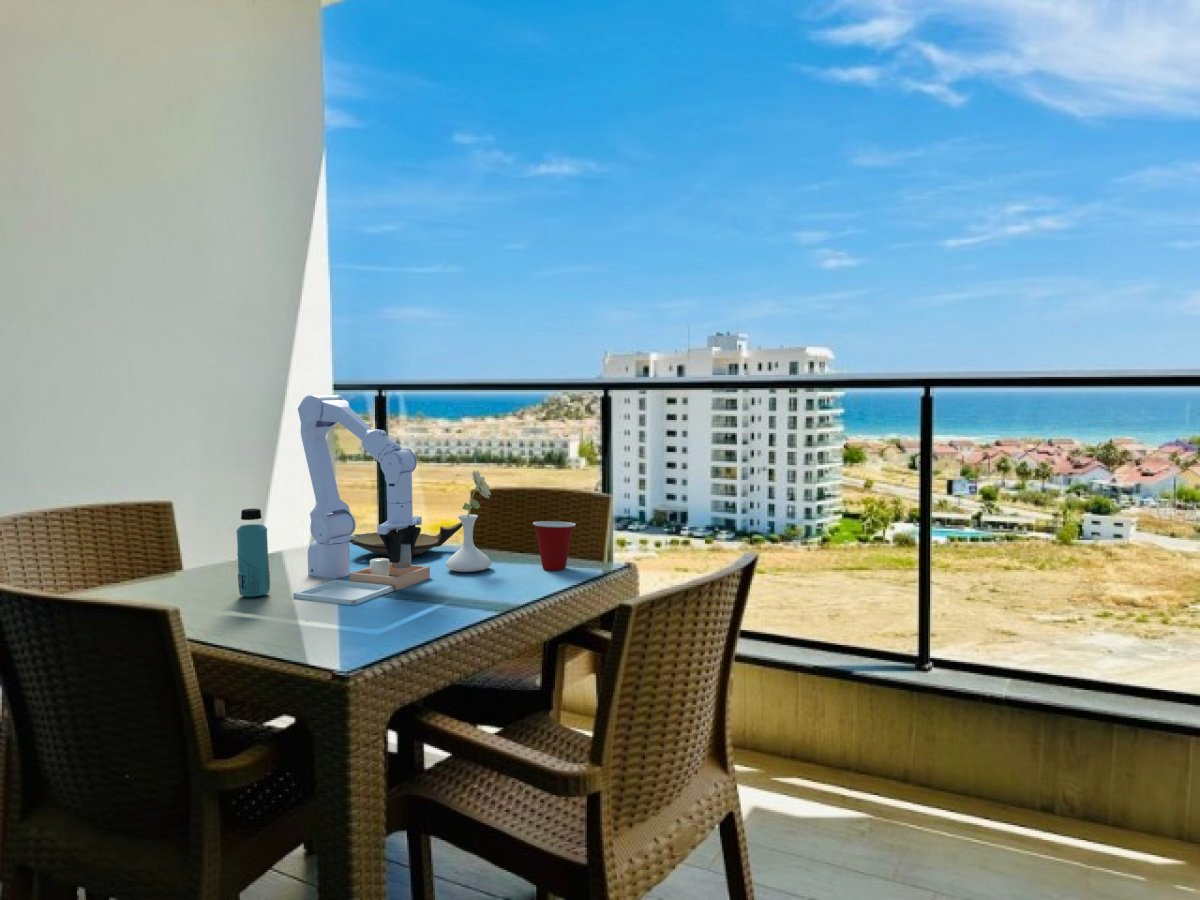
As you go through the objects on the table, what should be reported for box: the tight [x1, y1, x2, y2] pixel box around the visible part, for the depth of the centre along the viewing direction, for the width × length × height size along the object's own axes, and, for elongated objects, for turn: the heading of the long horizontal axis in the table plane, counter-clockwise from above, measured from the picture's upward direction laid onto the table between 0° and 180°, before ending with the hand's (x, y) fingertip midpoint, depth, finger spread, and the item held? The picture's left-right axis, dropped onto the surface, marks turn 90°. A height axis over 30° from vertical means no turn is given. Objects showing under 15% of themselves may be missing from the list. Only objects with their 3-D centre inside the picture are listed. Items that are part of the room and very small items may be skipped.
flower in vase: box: [445, 469, 492, 573], centre depth 222 cm, size 13×11×25 cm
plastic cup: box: [532, 520, 577, 572], centre depth 224 cm, size 11×11×12 cm
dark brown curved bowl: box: [349, 522, 463, 557], centre depth 242 cm, size 22×30×8 cm
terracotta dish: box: [349, 562, 431, 591], centre depth 207 cm, size 13×13×4 cm
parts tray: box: [292, 579, 395, 606], centre depth 195 cm, size 16×14×2 cm
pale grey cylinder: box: [369, 557, 391, 576], centre depth 208 cm, size 4×4×5 cm
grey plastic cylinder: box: [391, 543, 412, 568], centre depth 206 cm, size 4×4×5 cm
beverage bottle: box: [236, 508, 271, 597], centre depth 193 cm, size 6×7×20 cm
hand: (401, 560), depth 206 cm, fingers closed on grey plastic cylinder, 4 cm apart
